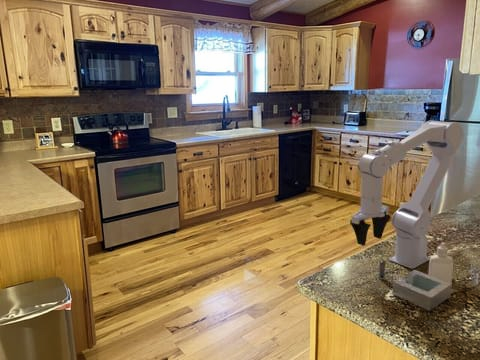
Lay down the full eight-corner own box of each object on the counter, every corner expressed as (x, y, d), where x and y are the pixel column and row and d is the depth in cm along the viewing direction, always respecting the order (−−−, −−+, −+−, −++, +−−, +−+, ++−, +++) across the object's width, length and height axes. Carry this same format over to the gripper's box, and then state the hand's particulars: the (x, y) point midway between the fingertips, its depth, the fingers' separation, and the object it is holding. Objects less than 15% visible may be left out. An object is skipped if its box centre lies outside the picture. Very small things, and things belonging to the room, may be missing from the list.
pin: (380, 275, 109) (381, 259, 107) (386, 278, 107) (387, 261, 106) (377, 277, 108) (377, 261, 106) (382, 280, 106) (383, 263, 105)
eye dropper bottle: (448, 290, 100) (452, 248, 97) (425, 283, 103) (429, 243, 101) (453, 283, 103) (457, 243, 100) (431, 277, 106) (434, 238, 104)
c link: (413, 281, 104) (414, 269, 103) (450, 296, 96) (451, 283, 95) (392, 293, 98) (393, 281, 98) (429, 310, 90) (430, 297, 90)
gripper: (367, 204, 99) (365, 252, 103) (399, 194, 107) (396, 238, 111) (346, 199, 105) (344, 244, 108) (377, 189, 113) (375, 231, 116)
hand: (369, 240), depth 110 cm, fingers open, 7 cm apart
